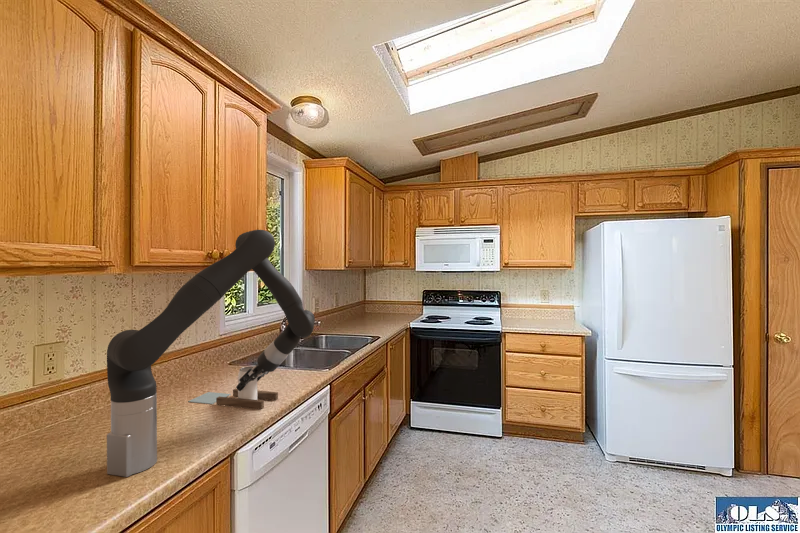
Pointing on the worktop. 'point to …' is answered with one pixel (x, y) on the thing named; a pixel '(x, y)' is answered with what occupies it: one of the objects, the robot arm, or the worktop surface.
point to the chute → (247, 400)
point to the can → (247, 386)
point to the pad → (208, 398)
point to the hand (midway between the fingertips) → (246, 385)
